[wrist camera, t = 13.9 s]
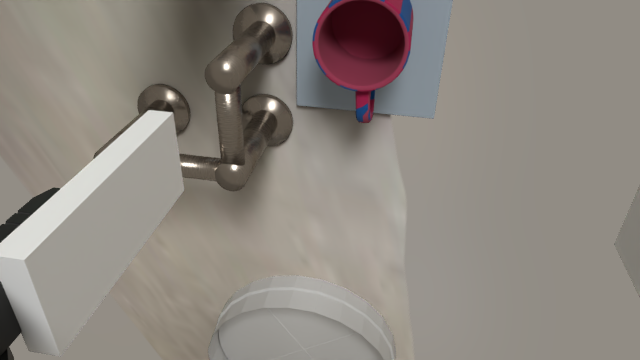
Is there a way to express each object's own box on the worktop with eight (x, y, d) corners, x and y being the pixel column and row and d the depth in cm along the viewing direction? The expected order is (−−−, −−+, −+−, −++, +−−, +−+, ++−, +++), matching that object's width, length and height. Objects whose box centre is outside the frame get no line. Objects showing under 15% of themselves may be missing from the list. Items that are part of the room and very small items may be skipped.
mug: (419, -22, 38) (418, -1, 32) (400, 102, 43) (396, 138, 38) (331, -30, 39) (314, -11, 33) (323, 92, 44) (307, 126, 38)
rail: (120, -8, 43) (43, 26, 34) (292, 4, 41) (256, 43, 32) (145, 129, 50) (85, 185, 41) (293, 145, 48) (263, 208, 39)
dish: (186, 307, 64) (169, 338, 59) (331, 247, 54) (323, 279, 50) (287, 410, 72) (278, 444, 67) (429, 374, 62) (429, 411, 58)
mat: (298, -42, 39) (296, -40, 39) (457, -33, 37) (457, -31, 37) (298, 102, 46) (296, 105, 45) (433, 115, 44) (433, 118, 43)
